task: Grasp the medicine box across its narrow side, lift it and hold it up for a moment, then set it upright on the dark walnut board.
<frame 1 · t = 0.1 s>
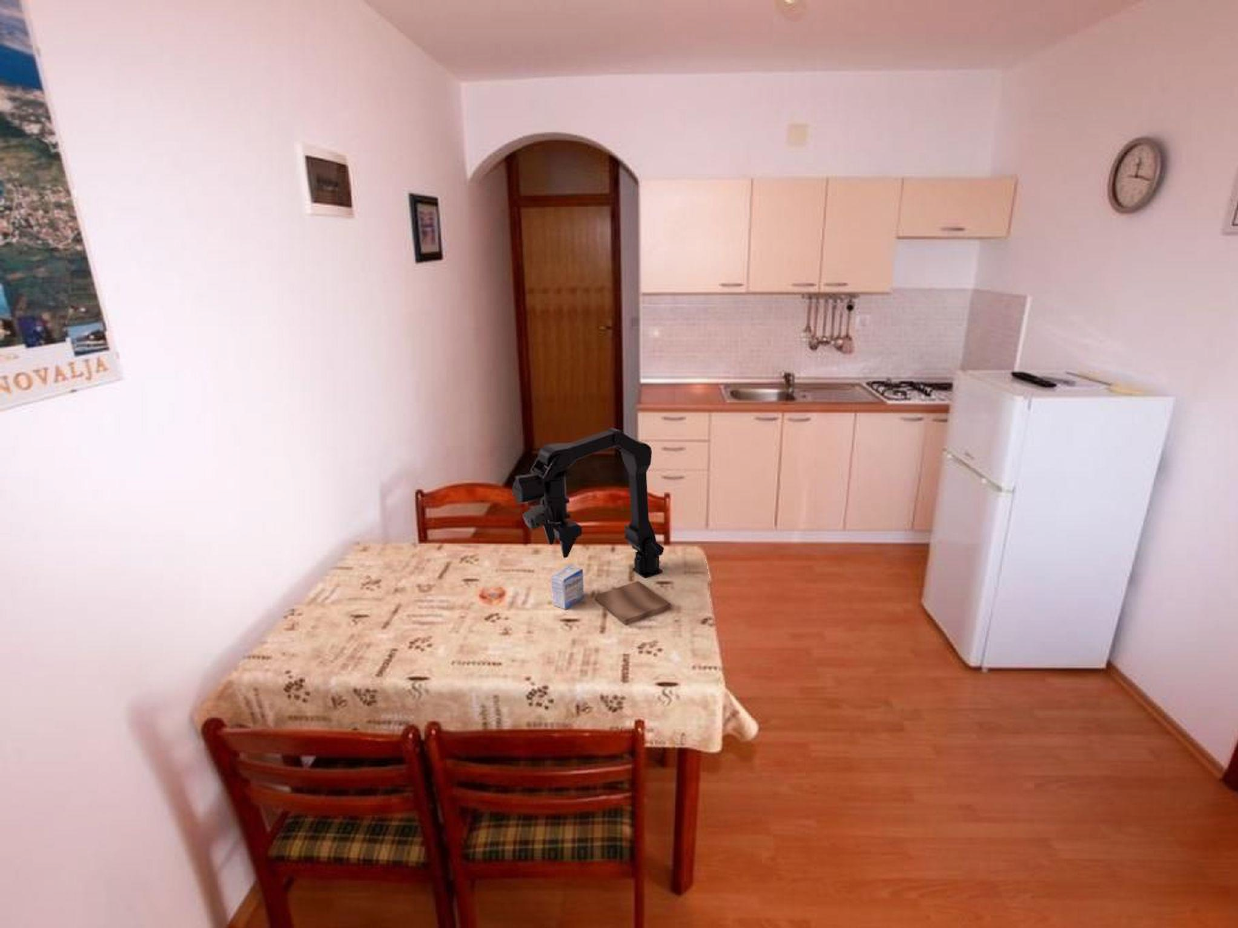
hand: (558, 550, 171), 14 cm above the table, fingers open, 9 cm apart
medicine box: (568, 602, 175), on the table
walnut board: (632, 604, 172), on the table
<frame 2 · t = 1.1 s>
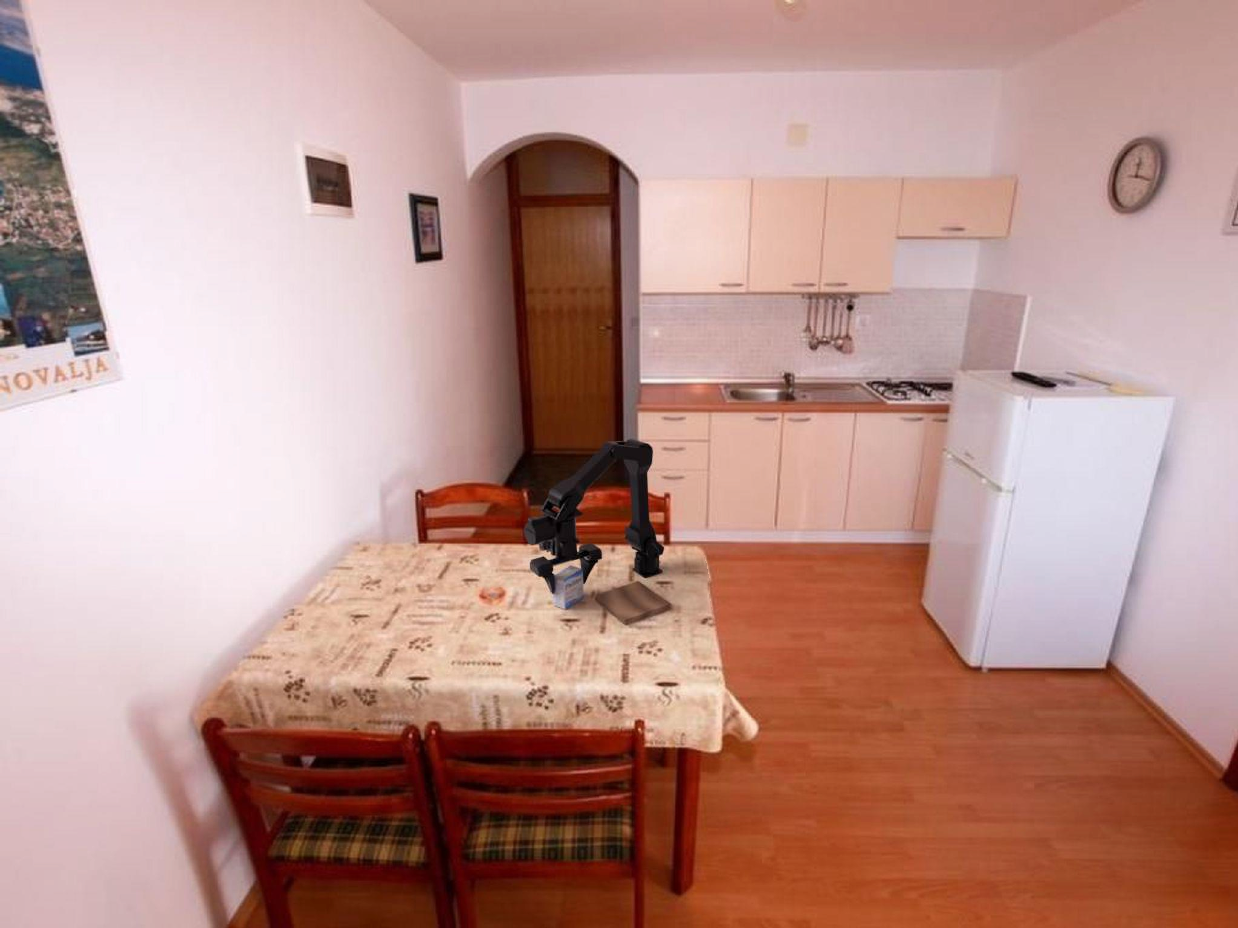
hand: (568, 588, 173), 4 cm above the table, fingers open, 9 cm apart
medicine box: (568, 602, 175), on the table, touching gripper
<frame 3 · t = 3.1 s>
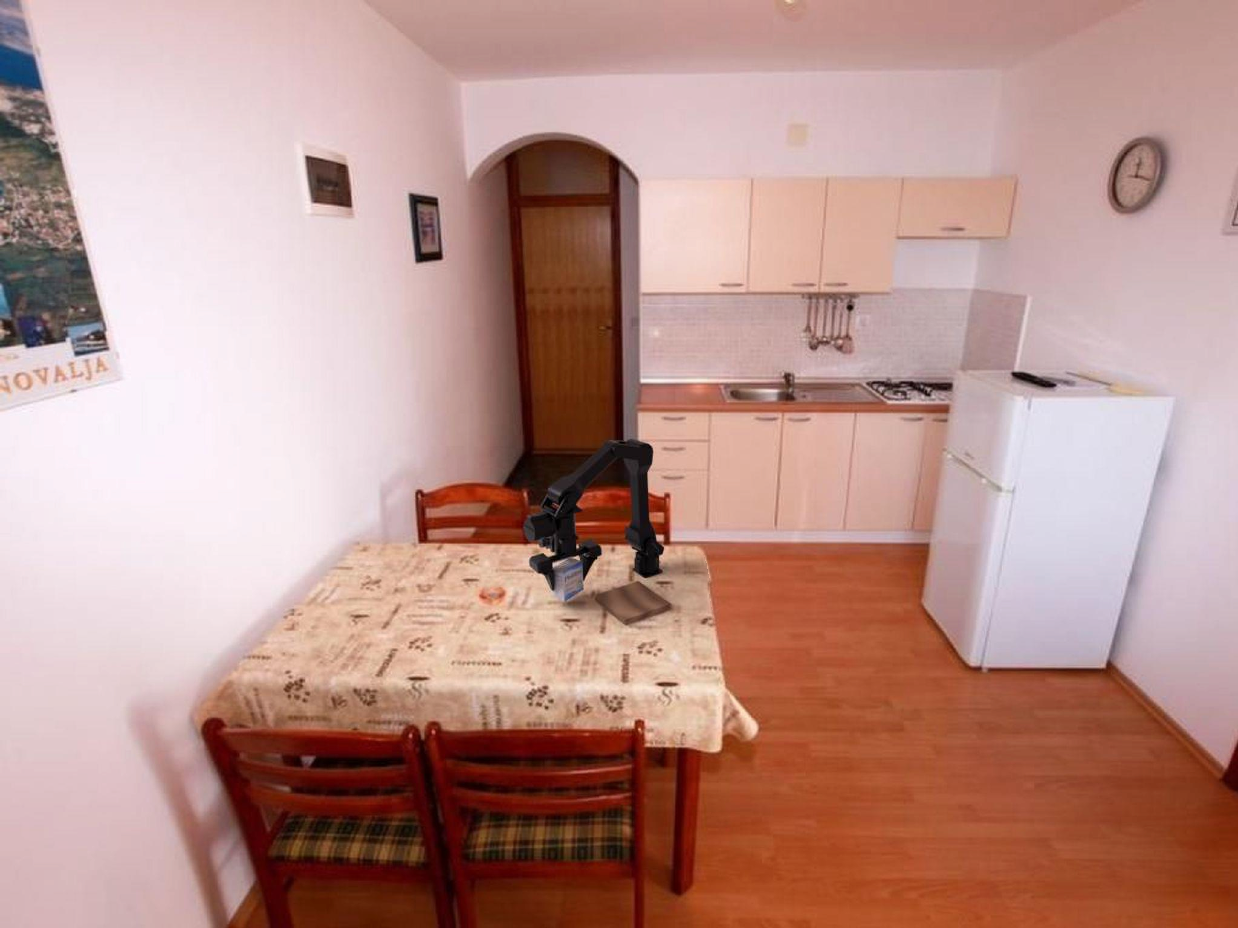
hand: (567, 585, 173), 5 cm above the table, fingers closed on medicine box, 9 cm apart
medicine box: (568, 594, 174), point 2 cm above the table, touching gripper
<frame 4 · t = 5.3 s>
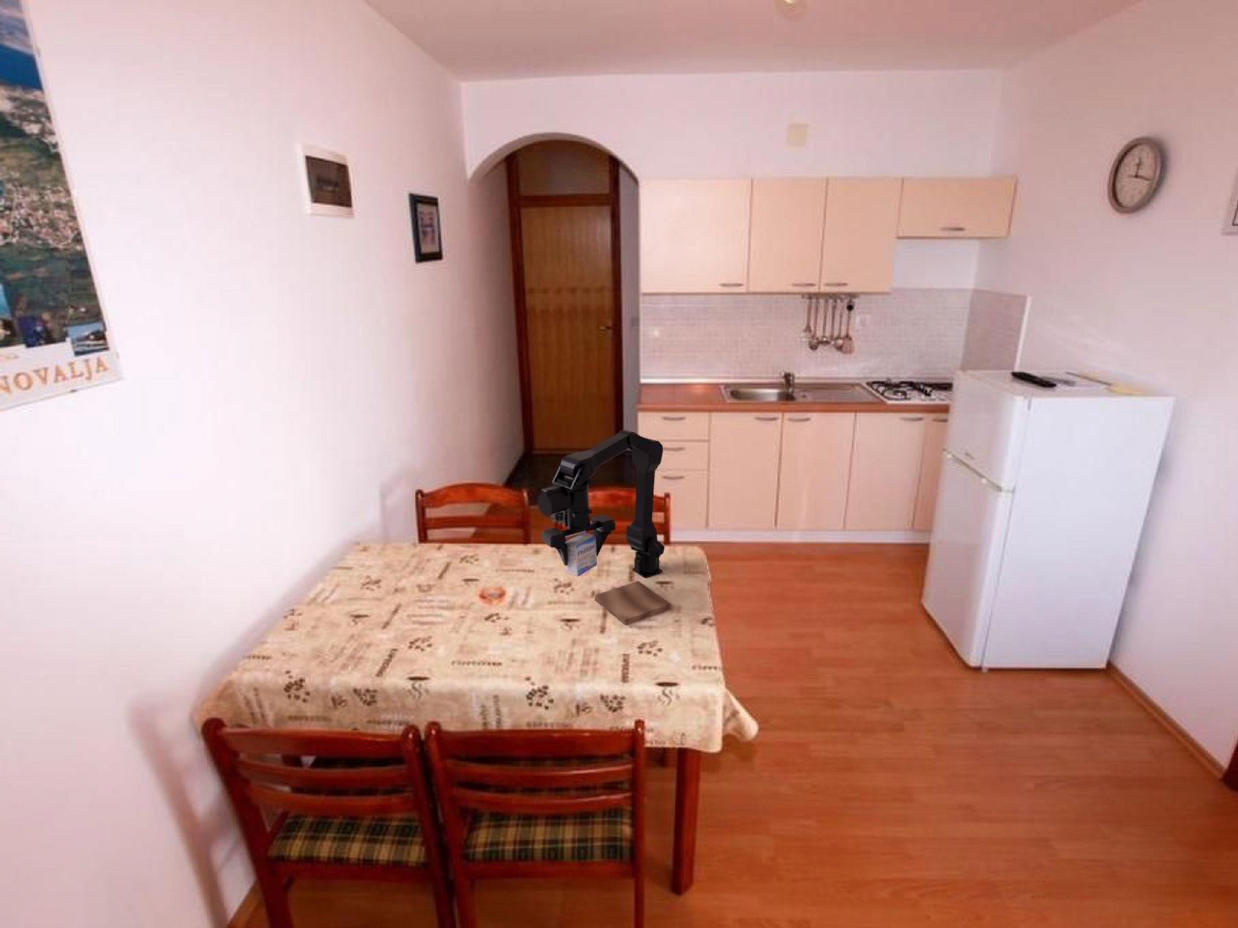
hand: (581, 560, 170), 12 cm above the table, fingers closed on medicine box, 9 cm apart
medicine box: (581, 569, 171), point 9 cm above the table, touching gripper
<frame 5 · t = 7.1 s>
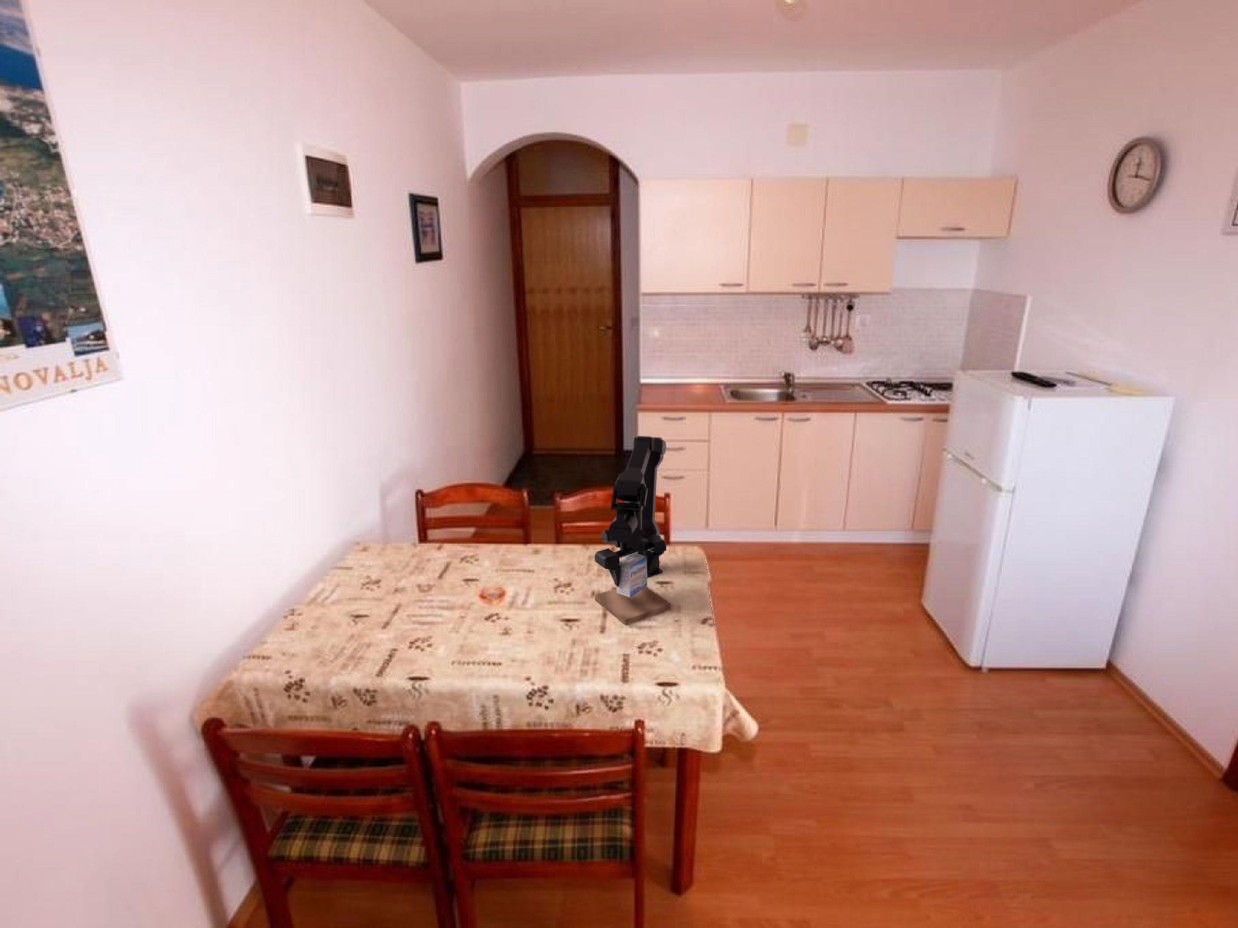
hand: (631, 581, 170), 7 cm above the table, fingers closed on medicine box, 9 cm apart
medicine box: (632, 590, 171), point 4 cm above the table, touching gripper
when the fingers open (5 cm above the table, at t = 8.5 s): medicine box stays where it is, resting on walnut board.
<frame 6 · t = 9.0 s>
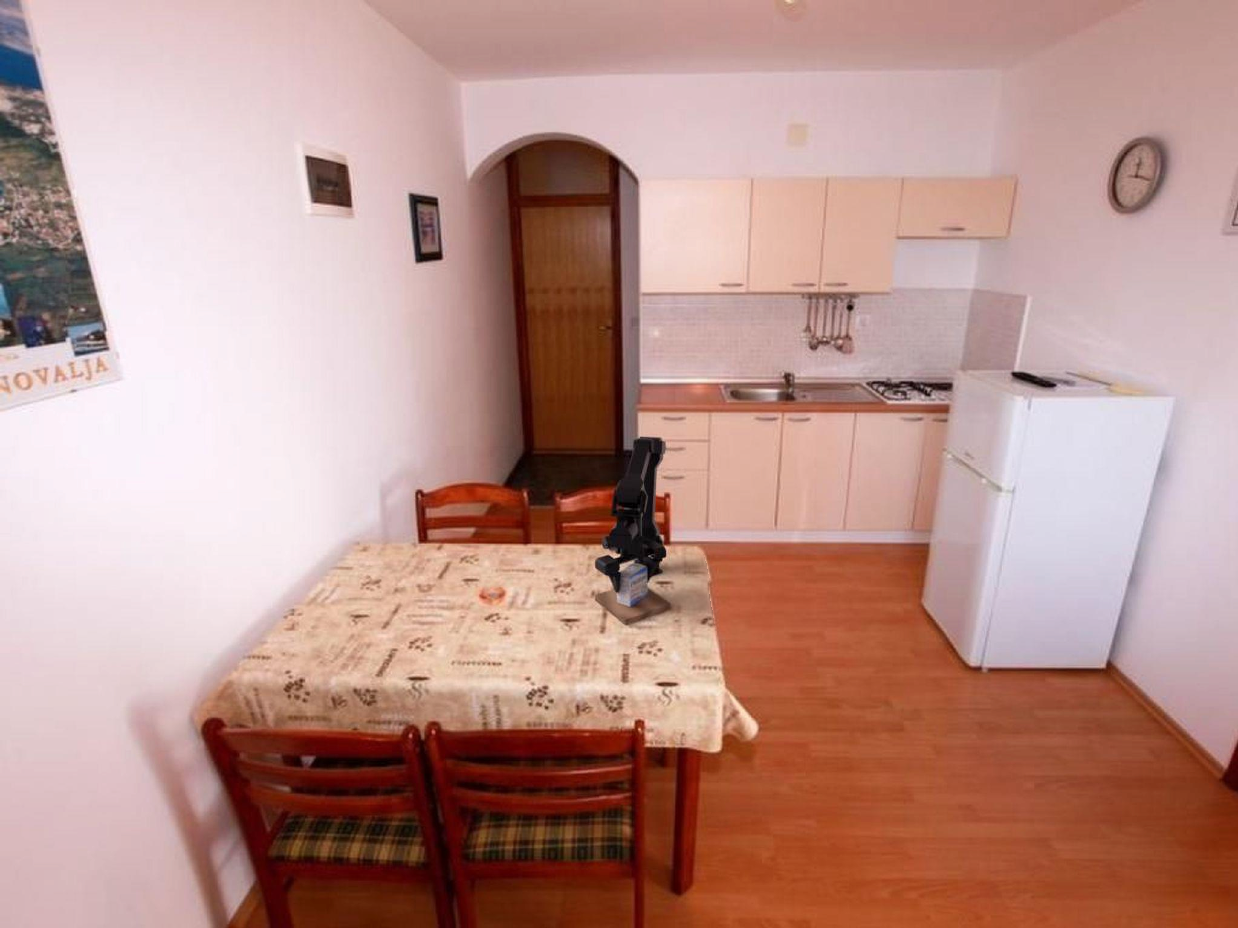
hand: (631, 587, 171), 5 cm above the table, fingers open, 9 cm apart
medicine box: (632, 599, 172), point 1 cm above the table, touching gripper, walnut board
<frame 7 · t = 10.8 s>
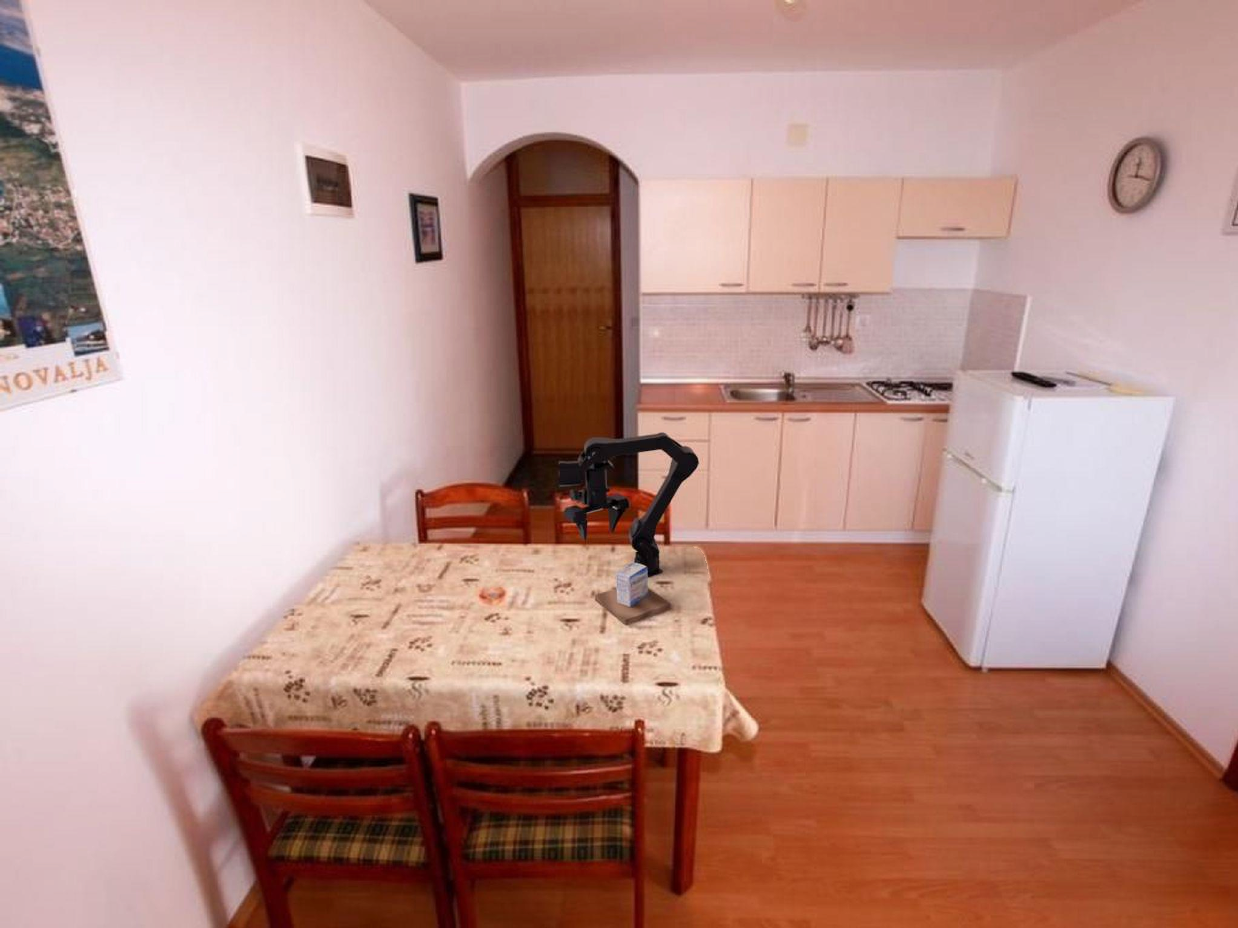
hand: (598, 536, 185), 12 cm above the table, fingers open, 9 cm apart
medicine box: (632, 599, 172), point 1 cm above the table, touching walnut board
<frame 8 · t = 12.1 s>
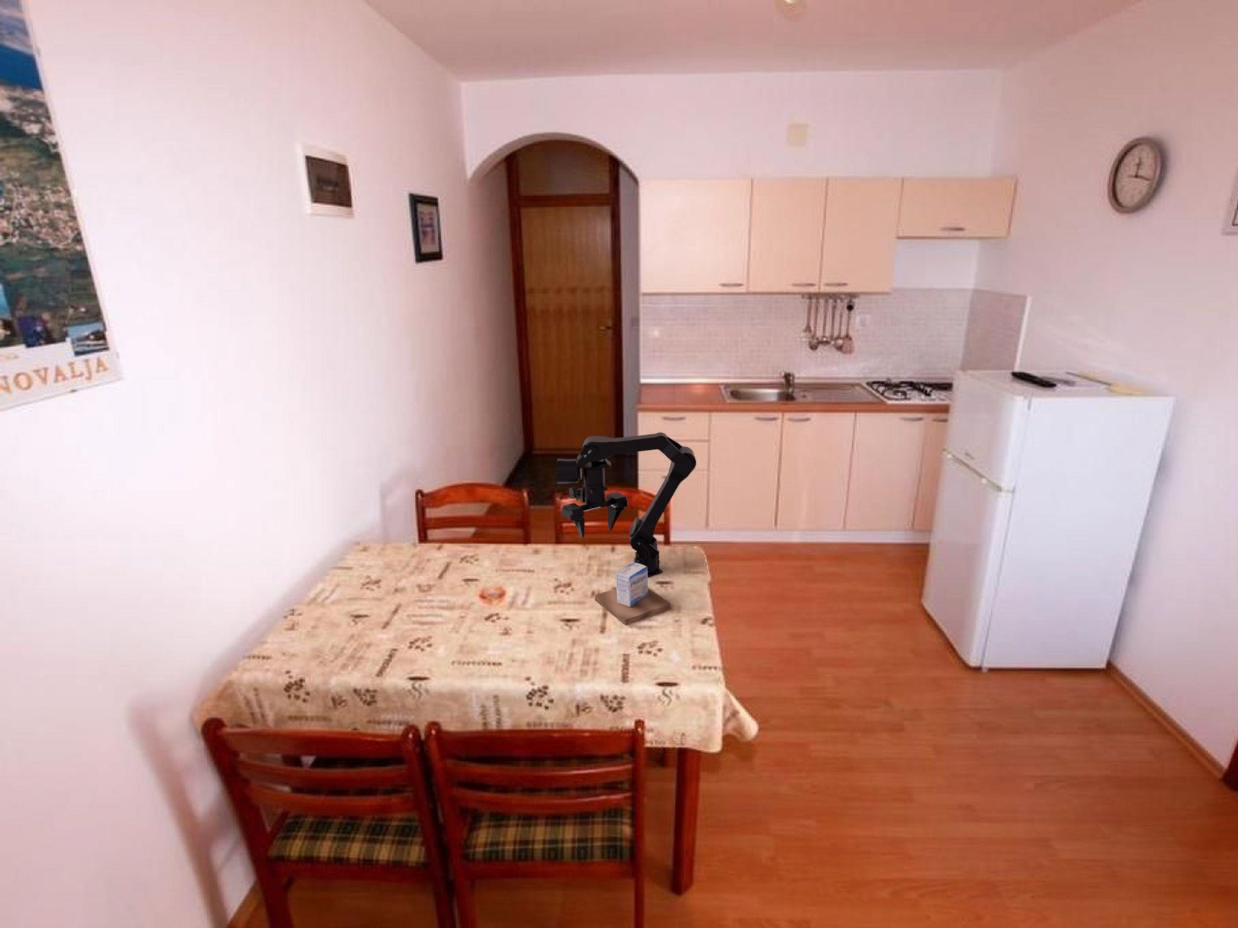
hand: (596, 533, 186), 12 cm above the table, fingers open, 9 cm apart
nothing on the table moved.
at the end: medicine box inside the target area on the walnut board (0.1 cm from its centre), point 1.3 cm above the walnut board's base; medicine box tilted 0°; the gripper is holding nothing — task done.
